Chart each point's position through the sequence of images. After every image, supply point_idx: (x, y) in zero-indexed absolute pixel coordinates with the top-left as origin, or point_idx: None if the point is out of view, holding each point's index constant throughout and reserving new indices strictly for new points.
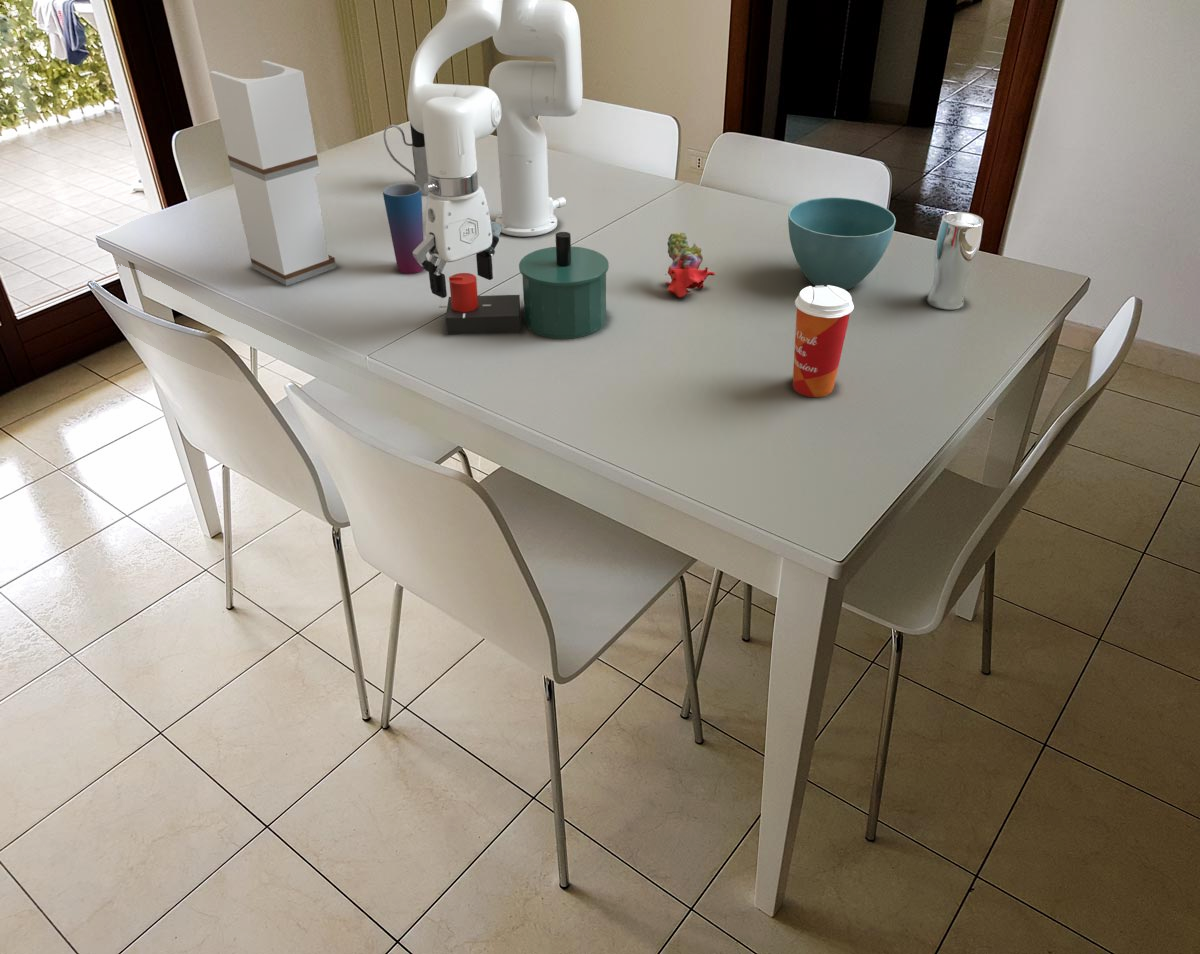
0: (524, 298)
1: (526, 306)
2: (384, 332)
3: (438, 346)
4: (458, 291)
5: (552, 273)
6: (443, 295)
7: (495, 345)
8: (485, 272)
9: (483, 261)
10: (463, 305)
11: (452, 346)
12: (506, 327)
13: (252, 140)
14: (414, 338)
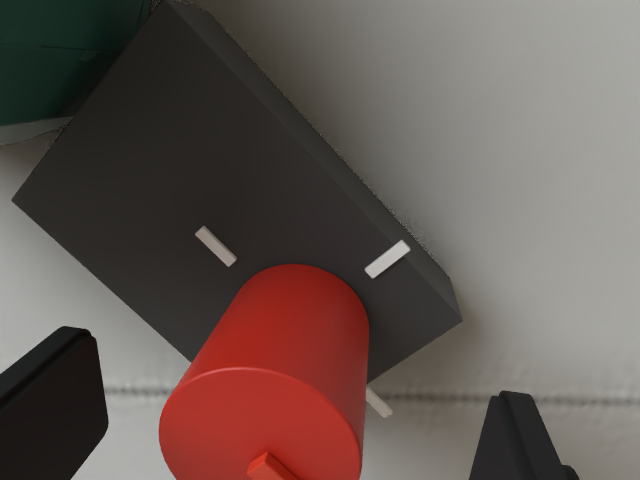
0: (28, 30)
1: (68, 3)
2: (578, 472)
3: (568, 230)
4: (355, 384)
5: None
6: (534, 407)
7: (395, 4)
8: (67, 392)
9: (1, 476)
10: (348, 308)
11: (532, 178)
12: (249, 64)
13: None
14: (559, 358)
